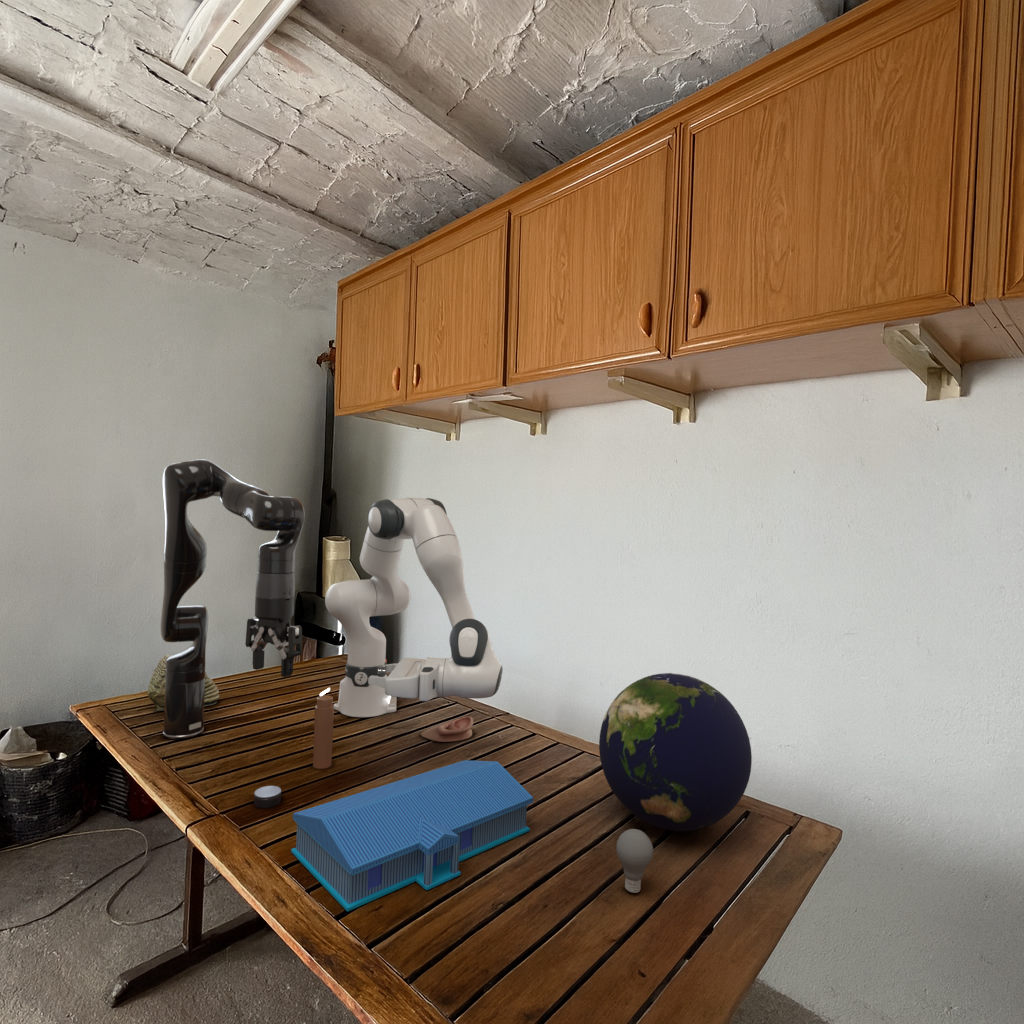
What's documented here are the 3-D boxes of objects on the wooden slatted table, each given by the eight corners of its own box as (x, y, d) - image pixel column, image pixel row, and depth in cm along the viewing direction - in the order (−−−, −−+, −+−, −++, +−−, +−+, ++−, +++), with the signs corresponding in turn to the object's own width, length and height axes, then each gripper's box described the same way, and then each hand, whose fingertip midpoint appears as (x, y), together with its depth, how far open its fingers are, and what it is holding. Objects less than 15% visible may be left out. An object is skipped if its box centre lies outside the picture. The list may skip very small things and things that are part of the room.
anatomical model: (417, 724, 167) (431, 710, 178) (416, 739, 167) (430, 724, 178) (465, 730, 164) (477, 715, 176) (465, 745, 165) (476, 730, 176)
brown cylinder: (329, 760, 152) (332, 693, 152) (333, 767, 148) (336, 699, 148) (311, 763, 150) (313, 695, 150) (314, 770, 146) (317, 701, 146)
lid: (262, 810, 127) (263, 799, 127) (249, 802, 130) (249, 791, 130) (285, 801, 131) (286, 791, 131) (272, 793, 134) (272, 783, 134)
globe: (578, 839, 121) (585, 683, 120) (614, 778, 149) (620, 651, 148) (744, 881, 110) (753, 709, 109) (749, 806, 137) (756, 669, 137)
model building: (357, 922, 95) (360, 856, 95) (289, 850, 113) (292, 795, 113) (542, 837, 121) (544, 785, 121) (463, 790, 139) (465, 745, 139)
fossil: (144, 707, 182) (145, 655, 182) (212, 696, 194) (213, 647, 194) (151, 716, 175) (153, 662, 175) (221, 703, 188) (223, 653, 188)
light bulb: (610, 879, 108) (613, 822, 108) (644, 879, 109) (647, 822, 109) (619, 902, 102) (622, 840, 102) (655, 901, 103) (658, 840, 103)
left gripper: (236, 591, 130) (233, 670, 130) (284, 600, 123) (281, 683, 123) (267, 588, 136) (264, 663, 137) (313, 595, 129) (310, 674, 130)
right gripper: (439, 653, 159) (384, 650, 159) (426, 675, 138) (363, 672, 139) (438, 678, 159) (383, 675, 159) (425, 704, 138) (362, 701, 139)
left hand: (272, 672), depth 130 cm, fingers open, 8 cm apart
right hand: (373, 674), depth 149 cm, fingers open, 8 cm apart
